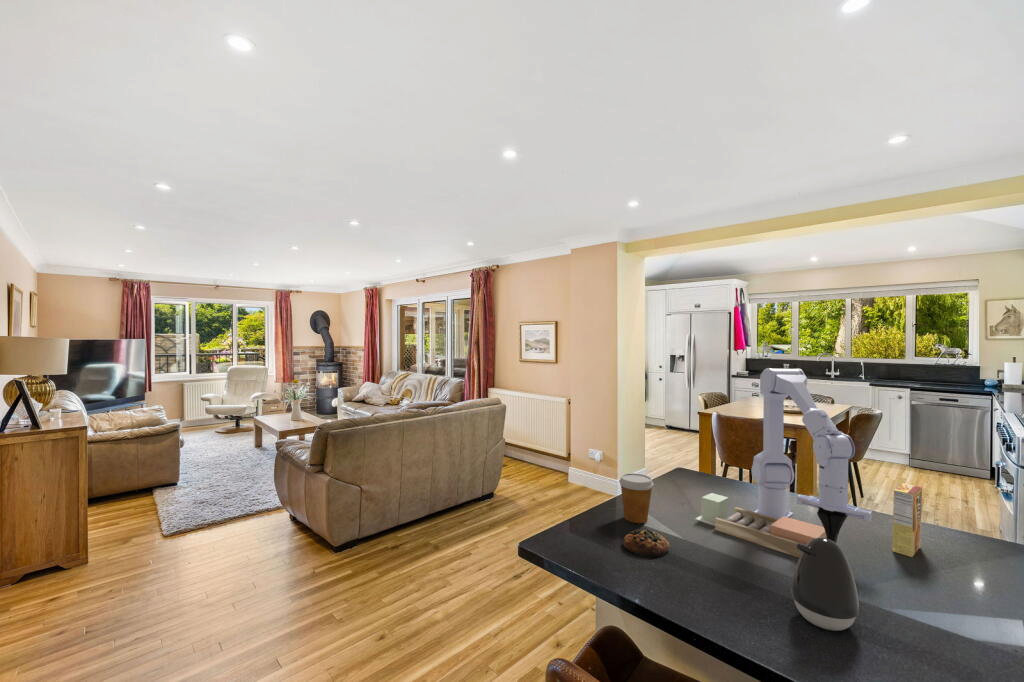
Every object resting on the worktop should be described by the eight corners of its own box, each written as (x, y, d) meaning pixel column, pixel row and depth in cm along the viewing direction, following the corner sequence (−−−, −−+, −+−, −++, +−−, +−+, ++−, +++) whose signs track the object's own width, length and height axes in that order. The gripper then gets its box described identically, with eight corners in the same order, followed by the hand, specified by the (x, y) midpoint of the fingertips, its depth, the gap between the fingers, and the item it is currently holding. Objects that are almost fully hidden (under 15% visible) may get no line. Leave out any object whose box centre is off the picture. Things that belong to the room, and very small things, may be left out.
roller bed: (711, 510, 136) (712, 500, 136) (834, 547, 113) (835, 534, 113) (690, 522, 127) (690, 510, 127) (818, 564, 104) (819, 550, 104)
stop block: (711, 513, 134) (711, 492, 134) (728, 518, 130) (728, 497, 130) (701, 518, 130) (701, 497, 130) (718, 523, 126) (719, 502, 126)
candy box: (899, 541, 116) (900, 482, 116) (921, 547, 113) (922, 486, 113) (891, 551, 111) (892, 489, 111) (914, 558, 108) (915, 494, 107)
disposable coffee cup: (653, 515, 132) (654, 474, 132) (652, 528, 123) (653, 484, 123) (620, 511, 135) (620, 471, 135) (616, 523, 126) (617, 480, 126)
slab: (783, 525, 120) (783, 516, 120) (827, 538, 112) (828, 528, 112) (770, 535, 114) (770, 525, 114) (816, 549, 106) (816, 538, 106)
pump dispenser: (777, 606, 87) (778, 527, 87) (827, 604, 88) (829, 526, 88) (817, 641, 77) (818, 552, 77) (874, 638, 78) (875, 551, 78)
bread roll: (635, 559, 105) (635, 537, 106) (615, 545, 116) (615, 524, 117) (678, 557, 107) (678, 535, 108) (655, 543, 118) (654, 523, 119)
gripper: (793, 481, 110) (792, 536, 111) (867, 497, 100) (866, 558, 100) (802, 475, 115) (801, 528, 115) (874, 490, 104) (873, 548, 104)
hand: (832, 541), depth 108 cm, fingers closed
